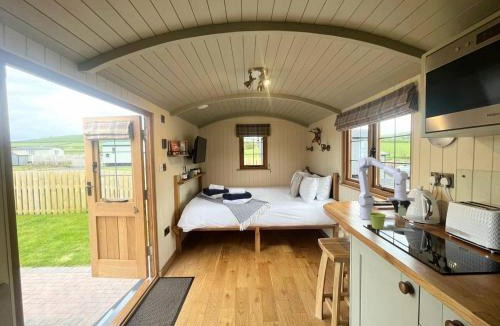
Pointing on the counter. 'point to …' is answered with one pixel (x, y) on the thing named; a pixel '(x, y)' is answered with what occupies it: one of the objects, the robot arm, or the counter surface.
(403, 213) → the sage block
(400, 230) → the board
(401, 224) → the walnut block
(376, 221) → the plant pot
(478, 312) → the counter surface
